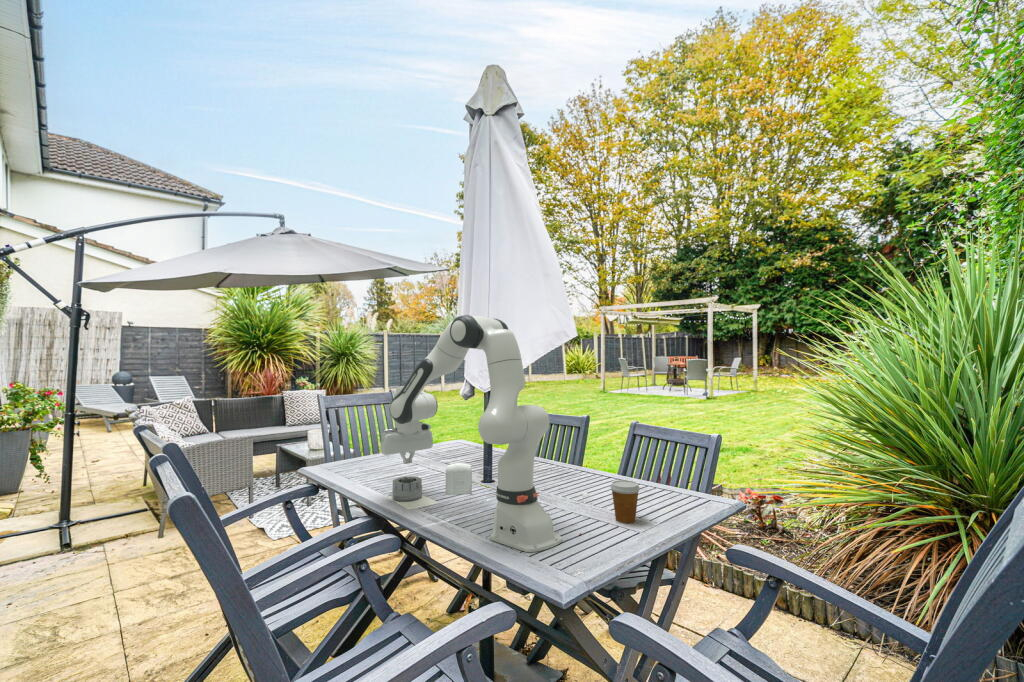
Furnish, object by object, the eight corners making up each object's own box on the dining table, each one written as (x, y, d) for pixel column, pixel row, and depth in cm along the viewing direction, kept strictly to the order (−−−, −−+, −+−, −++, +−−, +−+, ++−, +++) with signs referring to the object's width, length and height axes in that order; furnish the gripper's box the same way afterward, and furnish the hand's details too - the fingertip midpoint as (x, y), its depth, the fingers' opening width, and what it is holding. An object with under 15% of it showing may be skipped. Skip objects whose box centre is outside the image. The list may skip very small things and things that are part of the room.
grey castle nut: (427, 497, 183) (427, 480, 183) (400, 503, 176) (400, 485, 176) (414, 491, 191) (414, 474, 192) (387, 496, 185) (387, 479, 185)
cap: (416, 487, 183) (416, 477, 183) (404, 489, 180) (404, 480, 180) (410, 484, 187) (410, 475, 187) (398, 486, 184) (398, 477, 184)
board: (438, 505, 177) (438, 502, 177) (408, 512, 169) (408, 509, 169) (415, 493, 192) (415, 491, 192) (386, 499, 184) (386, 497, 184)
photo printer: (471, 492, 192) (471, 461, 193) (472, 496, 188) (472, 464, 188) (445, 494, 191) (445, 462, 191) (445, 497, 187) (445, 465, 187)
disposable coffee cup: (608, 515, 165) (608, 479, 165) (637, 515, 164) (636, 479, 165) (612, 525, 156) (612, 487, 156) (643, 525, 155) (642, 487, 155)
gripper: (384, 430, 175) (385, 469, 175) (434, 424, 188) (435, 460, 187) (377, 428, 180) (378, 466, 180) (426, 423, 193) (427, 458, 192)
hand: (407, 463), depth 184 cm, fingers closed
